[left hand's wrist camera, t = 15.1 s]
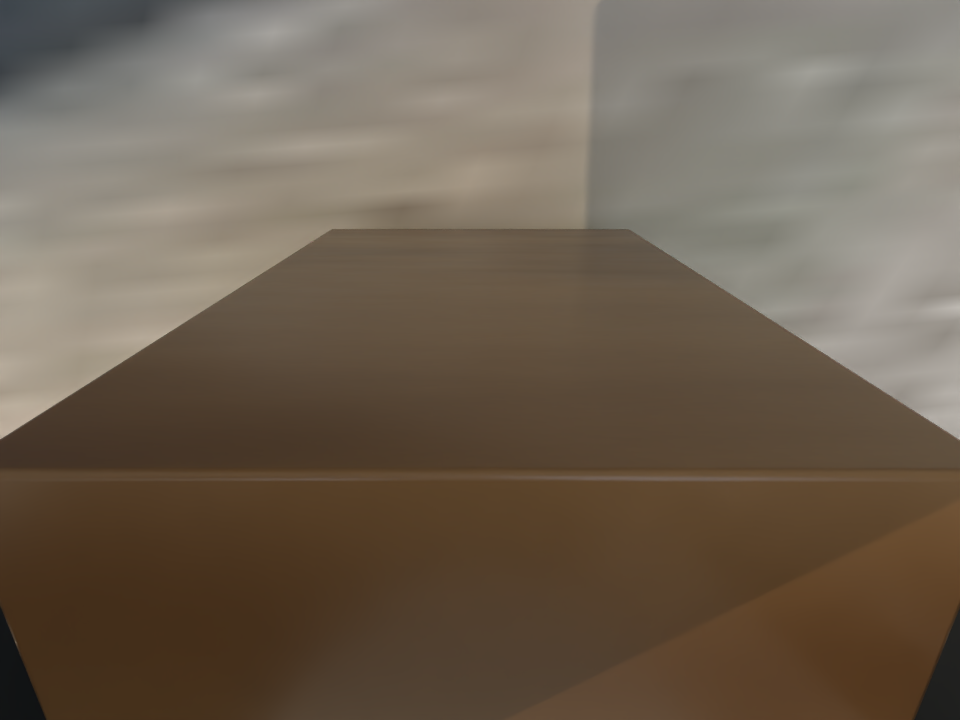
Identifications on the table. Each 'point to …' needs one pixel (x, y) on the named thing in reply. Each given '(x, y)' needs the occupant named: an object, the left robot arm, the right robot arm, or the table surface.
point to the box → (480, 502)
